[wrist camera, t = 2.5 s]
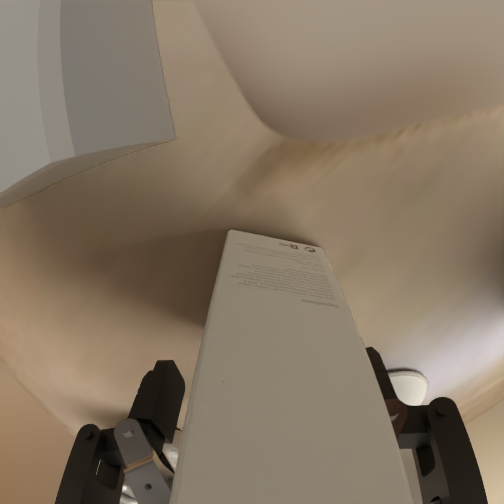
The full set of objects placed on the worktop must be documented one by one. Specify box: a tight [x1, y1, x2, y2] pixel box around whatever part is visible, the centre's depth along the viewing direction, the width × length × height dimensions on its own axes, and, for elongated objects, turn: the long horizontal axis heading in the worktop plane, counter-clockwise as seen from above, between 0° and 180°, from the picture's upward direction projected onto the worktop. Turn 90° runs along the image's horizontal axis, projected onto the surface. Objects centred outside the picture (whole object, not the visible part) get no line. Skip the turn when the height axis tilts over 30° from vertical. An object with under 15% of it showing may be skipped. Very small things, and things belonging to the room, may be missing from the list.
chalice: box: [388, 371, 429, 504], centre depth 16 cm, size 14×14×15 cm
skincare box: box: [169, 230, 414, 504], centre depth 11 cm, size 8×6×15 cm
